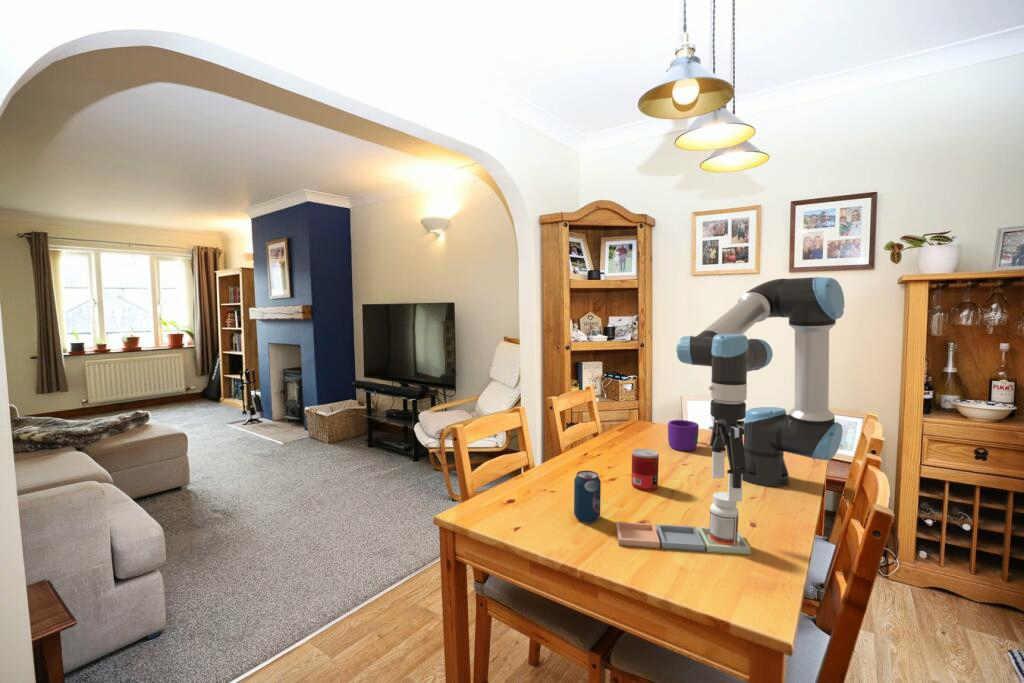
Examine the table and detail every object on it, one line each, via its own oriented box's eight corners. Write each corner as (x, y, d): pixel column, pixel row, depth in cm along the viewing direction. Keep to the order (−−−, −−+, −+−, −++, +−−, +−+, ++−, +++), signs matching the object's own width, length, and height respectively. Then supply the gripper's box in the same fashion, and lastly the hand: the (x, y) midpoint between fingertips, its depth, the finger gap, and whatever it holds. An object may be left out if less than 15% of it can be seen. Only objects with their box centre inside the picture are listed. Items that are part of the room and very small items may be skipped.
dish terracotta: (653, 529, 122) (654, 524, 122) (659, 548, 113) (659, 542, 113) (616, 527, 123) (616, 521, 123) (618, 545, 114) (618, 539, 114)
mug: (695, 454, 183) (696, 428, 182) (664, 449, 188) (665, 424, 188) (702, 442, 198) (703, 418, 197) (673, 438, 203) (674, 415, 203)
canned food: (659, 492, 146) (659, 456, 145) (631, 490, 148) (632, 455, 147) (656, 482, 154) (657, 449, 153) (630, 481, 155) (631, 447, 154)
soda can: (600, 525, 125) (600, 479, 124) (573, 522, 126) (573, 478, 125) (600, 513, 132) (600, 470, 131) (574, 511, 133) (574, 468, 132)
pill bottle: (721, 533, 119) (723, 489, 118) (743, 544, 114) (745, 498, 113) (703, 539, 117) (704, 493, 116) (724, 550, 111) (726, 503, 110)
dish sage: (737, 535, 119) (737, 529, 119) (750, 554, 110) (750, 548, 110) (697, 532, 121) (697, 526, 120) (707, 551, 111) (707, 545, 111)
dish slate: (695, 532, 121) (695, 526, 121) (704, 551, 111) (704, 545, 111) (656, 529, 122) (656, 524, 122) (662, 548, 113) (662, 542, 113)
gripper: (698, 389, 125) (697, 469, 127) (727, 413, 101) (724, 511, 103) (729, 390, 124) (727, 470, 126) (765, 413, 100) (761, 512, 102)
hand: (725, 488), depth 114 cm, fingers open, 13 cm apart
